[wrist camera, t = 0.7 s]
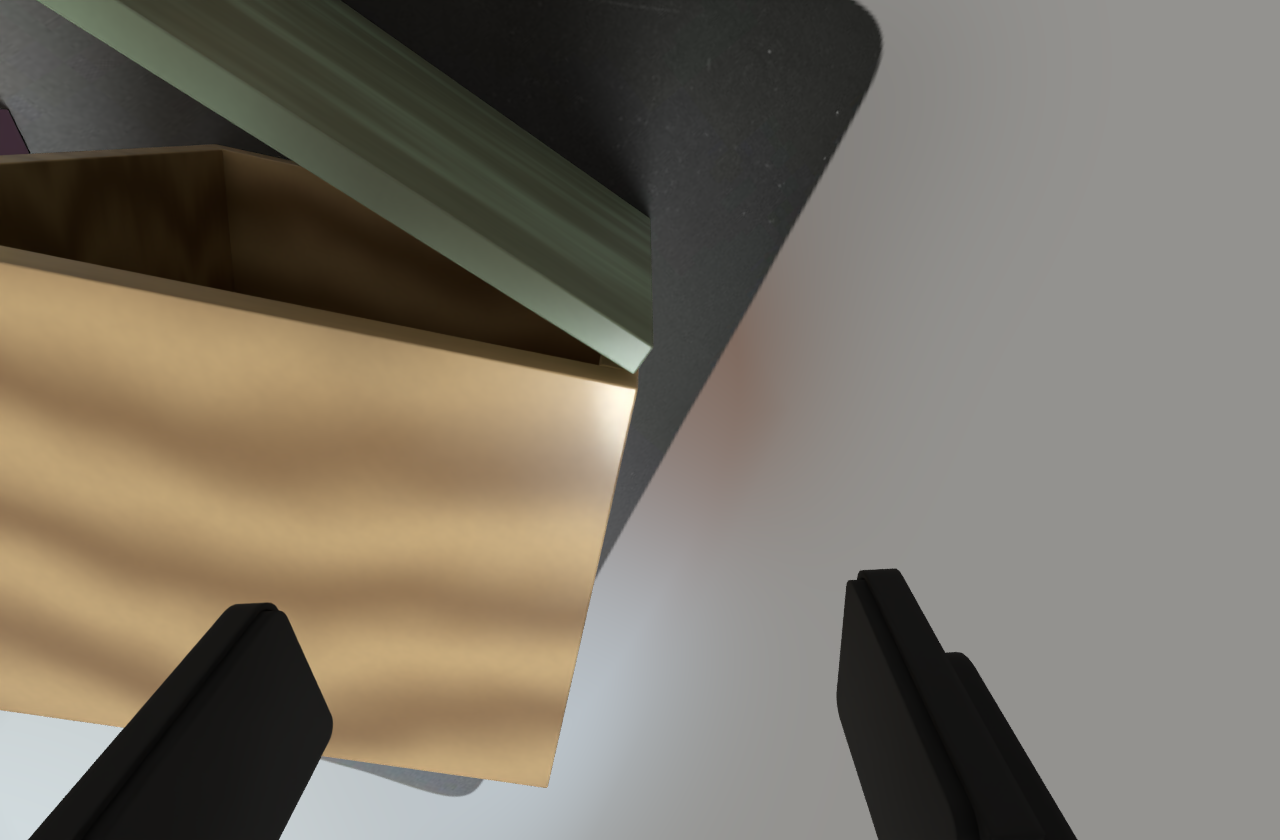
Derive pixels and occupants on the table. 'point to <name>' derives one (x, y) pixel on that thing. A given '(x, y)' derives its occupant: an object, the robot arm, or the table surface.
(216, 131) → the table surface
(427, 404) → the cupboard
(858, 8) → the table surface
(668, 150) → the table surface
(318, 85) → the door
